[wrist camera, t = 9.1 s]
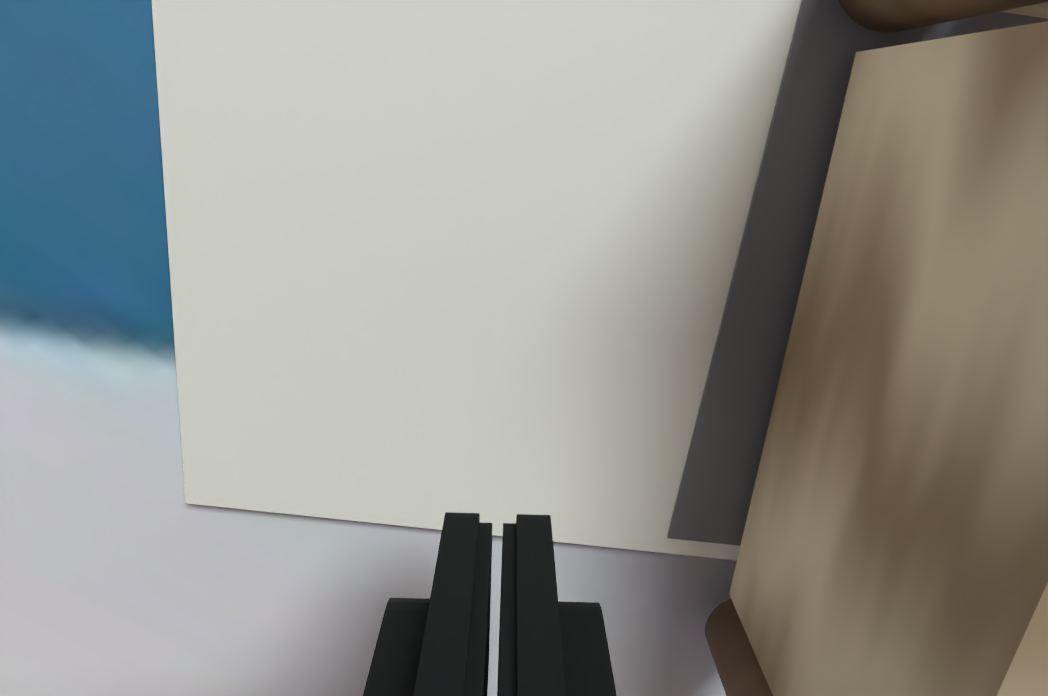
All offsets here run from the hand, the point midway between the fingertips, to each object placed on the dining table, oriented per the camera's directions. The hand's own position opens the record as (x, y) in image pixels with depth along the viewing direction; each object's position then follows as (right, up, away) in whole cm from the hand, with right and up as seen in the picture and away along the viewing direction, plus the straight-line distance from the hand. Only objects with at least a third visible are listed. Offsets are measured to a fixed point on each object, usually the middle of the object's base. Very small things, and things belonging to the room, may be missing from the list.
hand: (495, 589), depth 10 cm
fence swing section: (+6, +3, +3) cm, 8 cm away
